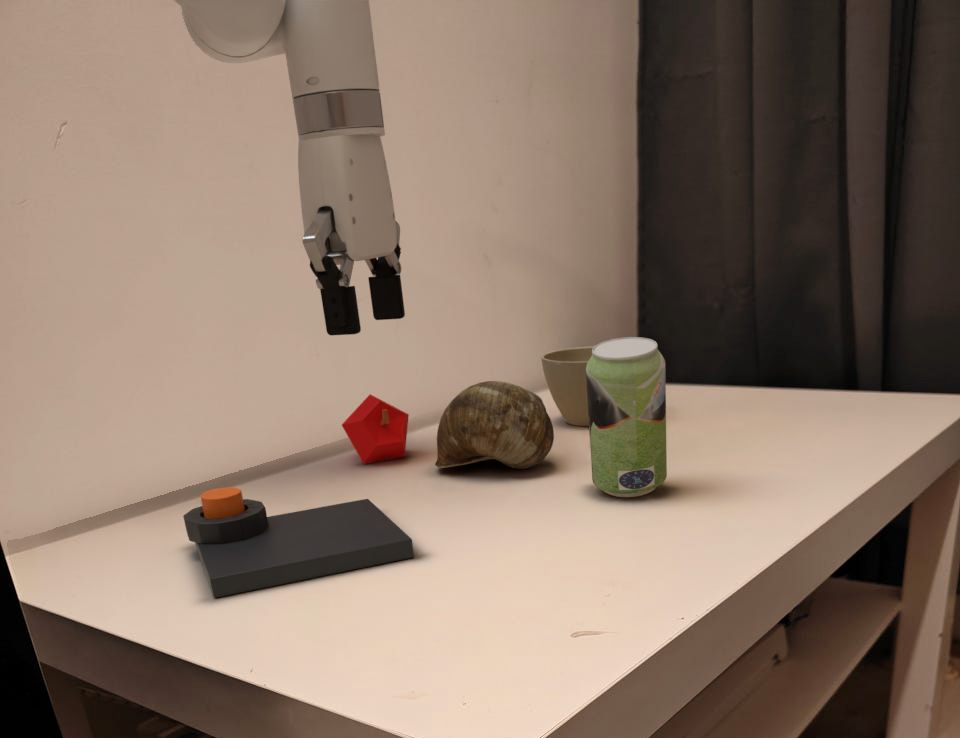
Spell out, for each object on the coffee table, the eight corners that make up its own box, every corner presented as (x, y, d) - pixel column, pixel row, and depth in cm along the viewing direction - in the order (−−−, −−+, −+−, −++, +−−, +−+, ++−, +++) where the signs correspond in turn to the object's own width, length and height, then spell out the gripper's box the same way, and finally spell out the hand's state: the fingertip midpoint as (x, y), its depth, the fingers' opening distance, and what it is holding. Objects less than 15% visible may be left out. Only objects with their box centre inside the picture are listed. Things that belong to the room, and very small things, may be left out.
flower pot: (554, 435, 97) (551, 364, 94) (537, 416, 106) (533, 351, 103) (648, 425, 97) (648, 354, 94) (623, 407, 106) (622, 342, 103)
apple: (334, 400, 95) (348, 381, 87) (399, 404, 97) (419, 386, 89) (335, 469, 95) (350, 455, 87) (400, 471, 97) (420, 458, 90)
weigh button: (207, 524, 68) (202, 501, 68) (202, 514, 71) (197, 491, 70) (248, 516, 69) (243, 494, 69) (242, 507, 72) (238, 484, 71)
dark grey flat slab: (207, 599, 62) (197, 557, 61) (188, 545, 73) (180, 508, 72) (414, 557, 66) (409, 517, 65) (367, 511, 77) (362, 476, 76)
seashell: (574, 461, 86) (571, 373, 83) (516, 488, 80) (509, 393, 77) (479, 451, 93) (472, 369, 90) (417, 475, 87) (407, 387, 83)
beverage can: (663, 478, 79) (664, 330, 74) (671, 503, 73) (672, 344, 68) (589, 481, 80) (584, 336, 75) (589, 507, 73) (585, 350, 68)
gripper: (346, 129, 90) (372, 315, 97) (248, 122, 75) (287, 343, 82) (418, 119, 87) (438, 311, 94) (331, 110, 73) (363, 339, 80)
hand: (368, 326), depth 88 cm, fingers open, 9 cm apart
